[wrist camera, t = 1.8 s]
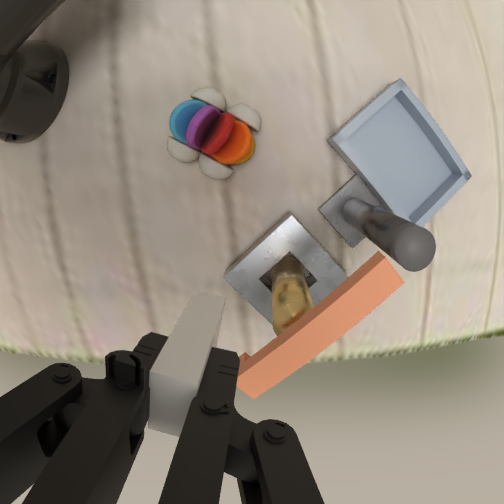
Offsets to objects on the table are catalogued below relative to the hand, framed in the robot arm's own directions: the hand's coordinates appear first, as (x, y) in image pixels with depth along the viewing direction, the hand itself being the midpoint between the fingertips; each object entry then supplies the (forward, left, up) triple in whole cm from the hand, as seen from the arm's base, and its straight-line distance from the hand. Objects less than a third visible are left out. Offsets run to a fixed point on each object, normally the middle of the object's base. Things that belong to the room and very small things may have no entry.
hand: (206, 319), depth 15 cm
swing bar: (+7, +3, -8) cm, 11 cm away
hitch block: (+7, 0, -22) cm, 23 cm away
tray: (+6, +19, -22) cm, 30 cm away
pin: (+7, 0, -22) cm, 23 cm away
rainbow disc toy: (-10, +5, -23) cm, 25 cm away
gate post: (+7, +11, -22) cm, 26 cm away
